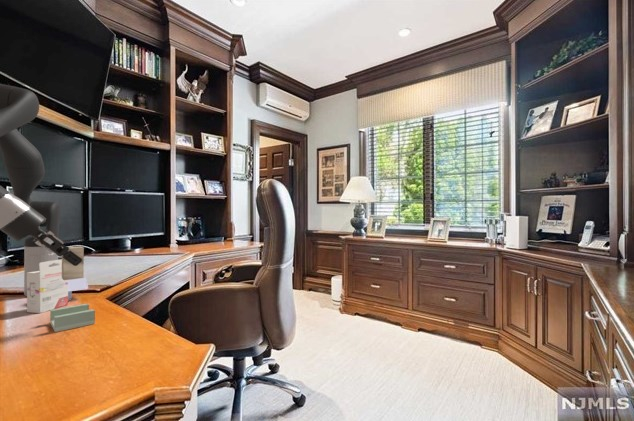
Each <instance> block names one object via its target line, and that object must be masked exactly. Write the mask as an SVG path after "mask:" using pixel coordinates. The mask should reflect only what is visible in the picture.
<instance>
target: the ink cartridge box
mask: <svg viewBox="0 0 634 421" xmlns="http://www.w3.org/2000/svg"><path fill="white" fill-rule="evenodd" d="M53 263H54V264H58V266H53V267H49V265H52V264H53ZM68 305H69V301H68V280H63V279H62V258H60V259H58V260H53V261H47V262H40V263H39V271H35V272H28V273H27V296H26V312H27V313H35V314H42V313H45V312H48V311H50V310H52V309H58V308H63V307H67V306H68Z"/></svg>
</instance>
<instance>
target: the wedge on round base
mask: <svg viewBox="0 0 634 421" xmlns="http://www.w3.org/2000/svg"><path fill="white" fill-rule="evenodd" d="M81 290H82V291H83V290H89V284H88V280H87V276H83V278H79V279H71V280H68V302H69V301H71V300H72V299H73V298H72V297H73V296H72V294H73V291H74V292H75V291H81Z"/></svg>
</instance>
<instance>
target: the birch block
mask: <svg viewBox="0 0 634 421" xmlns="http://www.w3.org/2000/svg"><path fill="white" fill-rule="evenodd" d="M68 247H69V249H70V250H71V251H72V252H73V253H74V254H76V255H77V256H78V257H80V258H81V259H82V262H80V263H79V264H78V265H77V266H74V265H73V264H71V263H70V262H68V261H67V260H65V259H64V258H63V257H61V259H62V279H63V280H71V279H79V278H83V277H84V272H85V270H84V269H85V268H84V266H85V265H84V263H85V262H84V260H85V259H84V258H85V257H84V255H85V254H84V252H85V251H84V250H85V248H84V247H83V246H68Z"/></svg>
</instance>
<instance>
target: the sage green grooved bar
mask: <svg viewBox="0 0 634 421" xmlns="http://www.w3.org/2000/svg"><path fill="white" fill-rule="evenodd" d="M49 311H50V314H49V315H50V318H49V319H50V322H49V323H50V325H51V327H52V329H53V331H54V332H55V333H58V332H62V331H66V330H71V329H76V328H81V327H86V326H91V325H94V324H95V325H96V310H95V309H92V308H91V309H90V304H89V303H88V302H87V303H83V304H77V305H71V306H63V307H59V308H56V309H52V310H49Z"/></svg>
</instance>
